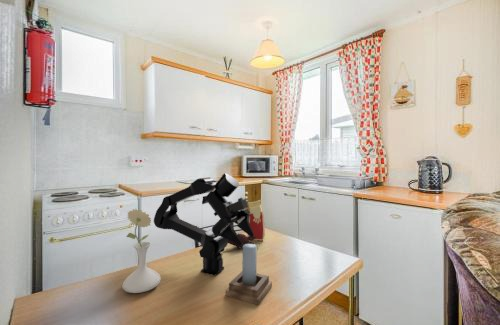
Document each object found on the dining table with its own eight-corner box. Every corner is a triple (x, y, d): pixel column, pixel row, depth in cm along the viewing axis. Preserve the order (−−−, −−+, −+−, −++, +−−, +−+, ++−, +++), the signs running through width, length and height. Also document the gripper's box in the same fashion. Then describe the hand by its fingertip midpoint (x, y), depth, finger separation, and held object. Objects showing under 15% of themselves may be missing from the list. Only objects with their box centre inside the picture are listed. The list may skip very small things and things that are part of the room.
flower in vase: (168, 283, 79) (168, 208, 78) (137, 301, 69) (136, 216, 68) (143, 273, 85) (143, 204, 85) (111, 288, 76) (111, 210, 75)
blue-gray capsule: (239, 287, 74) (240, 247, 74) (246, 280, 78) (246, 242, 78) (252, 290, 72) (253, 249, 72) (258, 283, 76) (258, 245, 76)
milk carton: (264, 235, 128) (265, 198, 128) (264, 241, 119) (264, 201, 119) (248, 234, 129) (248, 197, 129) (246, 240, 120) (246, 201, 120)
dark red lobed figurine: (224, 238, 104) (257, 239, 107) (223, 229, 111) (254, 230, 114) (223, 252, 106) (255, 252, 109) (221, 242, 113) (252, 242, 116)
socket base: (225, 295, 72) (225, 283, 72) (241, 278, 82) (241, 268, 82) (258, 304, 68) (258, 292, 68) (271, 286, 78) (271, 275, 77)
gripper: (219, 194, 75) (251, 234, 71) (245, 187, 92) (272, 219, 87) (199, 216, 79) (228, 255, 74) (228, 205, 95) (253, 237, 91)
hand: (247, 240), depth 82 cm, fingers open, 9 cm apart
